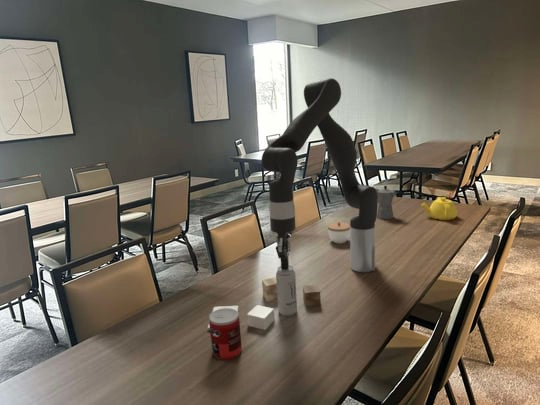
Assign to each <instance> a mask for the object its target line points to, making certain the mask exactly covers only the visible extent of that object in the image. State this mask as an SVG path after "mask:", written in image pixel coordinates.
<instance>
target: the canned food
mask: <svg viewBox="0 0 540 405" xmlns="http://www.w3.org/2000/svg"><path fill="white" fill-rule="evenodd" d="M208 325H210V331H209V332H210V341H211V342H210V343H211V350H212V353H213V354H212V355H214V357H215V358H217V359H219V360H224V361H225V360H226V361H227V360H232V359H235V358H237V356H239V355H240V354H241V352H242V348H243V347H242V335H241V334H242V333H241V324H240V315H239V311H238V312H237V311H236V310H234V309H230V308H223V309H218V310H216V311H214V312H213V311H212V312H210V313H209V316H208Z"/></svg>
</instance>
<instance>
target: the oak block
mask: <svg viewBox="0 0 540 405" xmlns="http://www.w3.org/2000/svg"><path fill="white" fill-rule="evenodd" d="M261 284H262V286H261V287H262V296H263V298H264V299H265V301H266V302H267V303H269V302H273V301H278V299H277V283H276V276H275V277H271V278H265V279H261Z"/></svg>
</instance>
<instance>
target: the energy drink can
mask: <svg viewBox="0 0 540 405" xmlns="http://www.w3.org/2000/svg"><path fill="white" fill-rule="evenodd" d="M275 277H276V283H277V299H278V300H277V311H278V312H279V313H280V314H281V316H284V317H290V316H291V317H292V316H293V315H295V314H296V312H297V310H298V302H297V285H296V284H297V282H296V281H297V280H296V271H295V269H294V267H293V266H291V265H289V268H288V269H287V270H286V269H281V265H280V266H277V271H276V272H275Z"/></svg>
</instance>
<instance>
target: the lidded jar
mask: <svg viewBox="0 0 540 405" xmlns="http://www.w3.org/2000/svg"><path fill="white" fill-rule="evenodd" d="M327 231H328V232H327V234H328V236H329V238H330V240H331V241H332V242H333V243H334V242H335V244H345V243H346V242H347V241H348V239H350V223H346V222H332V223H329V224H328V225H327Z"/></svg>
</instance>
